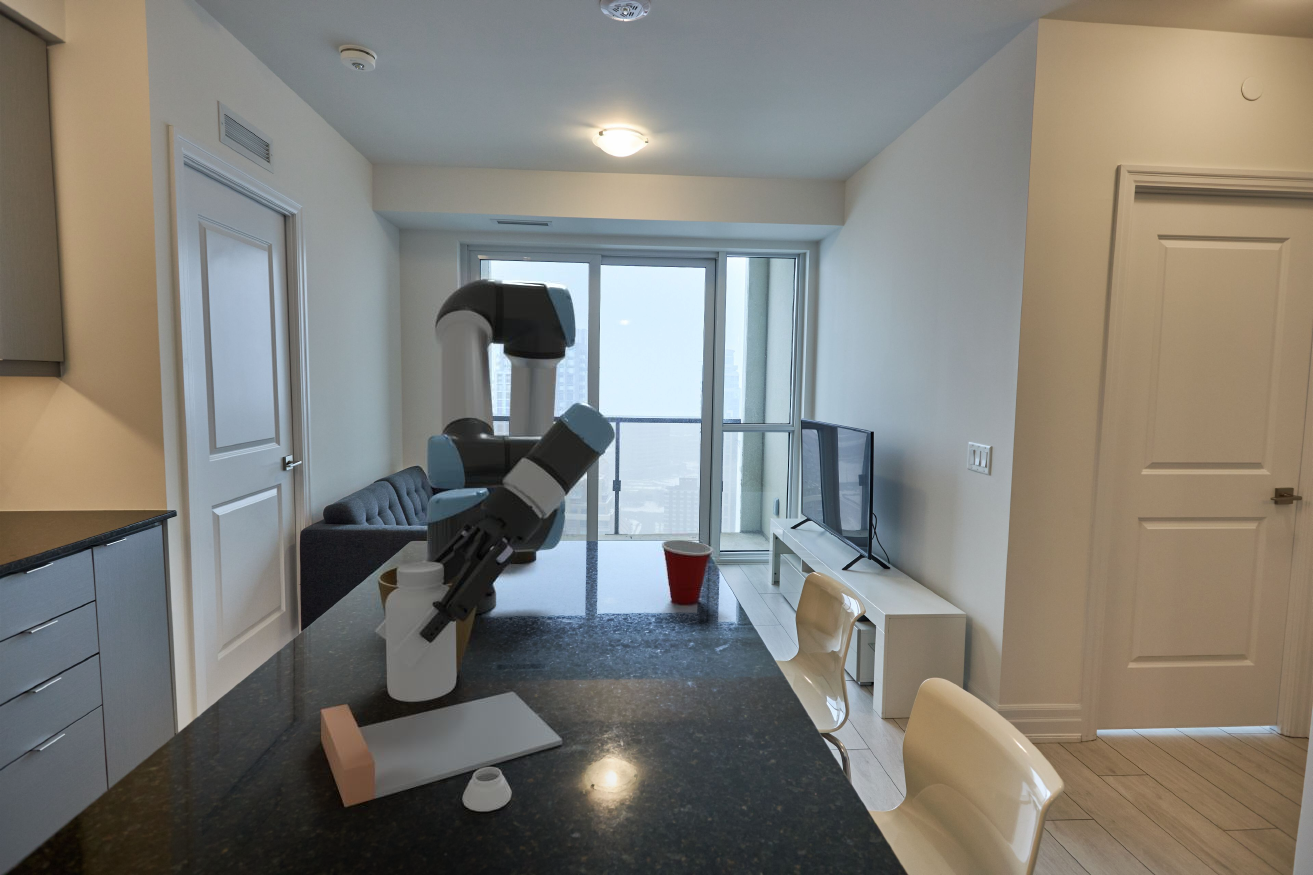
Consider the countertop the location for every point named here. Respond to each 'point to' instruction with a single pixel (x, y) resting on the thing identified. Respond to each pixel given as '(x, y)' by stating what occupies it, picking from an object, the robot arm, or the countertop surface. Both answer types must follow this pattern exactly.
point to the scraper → (428, 744)
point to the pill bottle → (402, 615)
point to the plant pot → (463, 629)
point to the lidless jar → (487, 790)
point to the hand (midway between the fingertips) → (392, 648)
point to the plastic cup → (685, 569)
